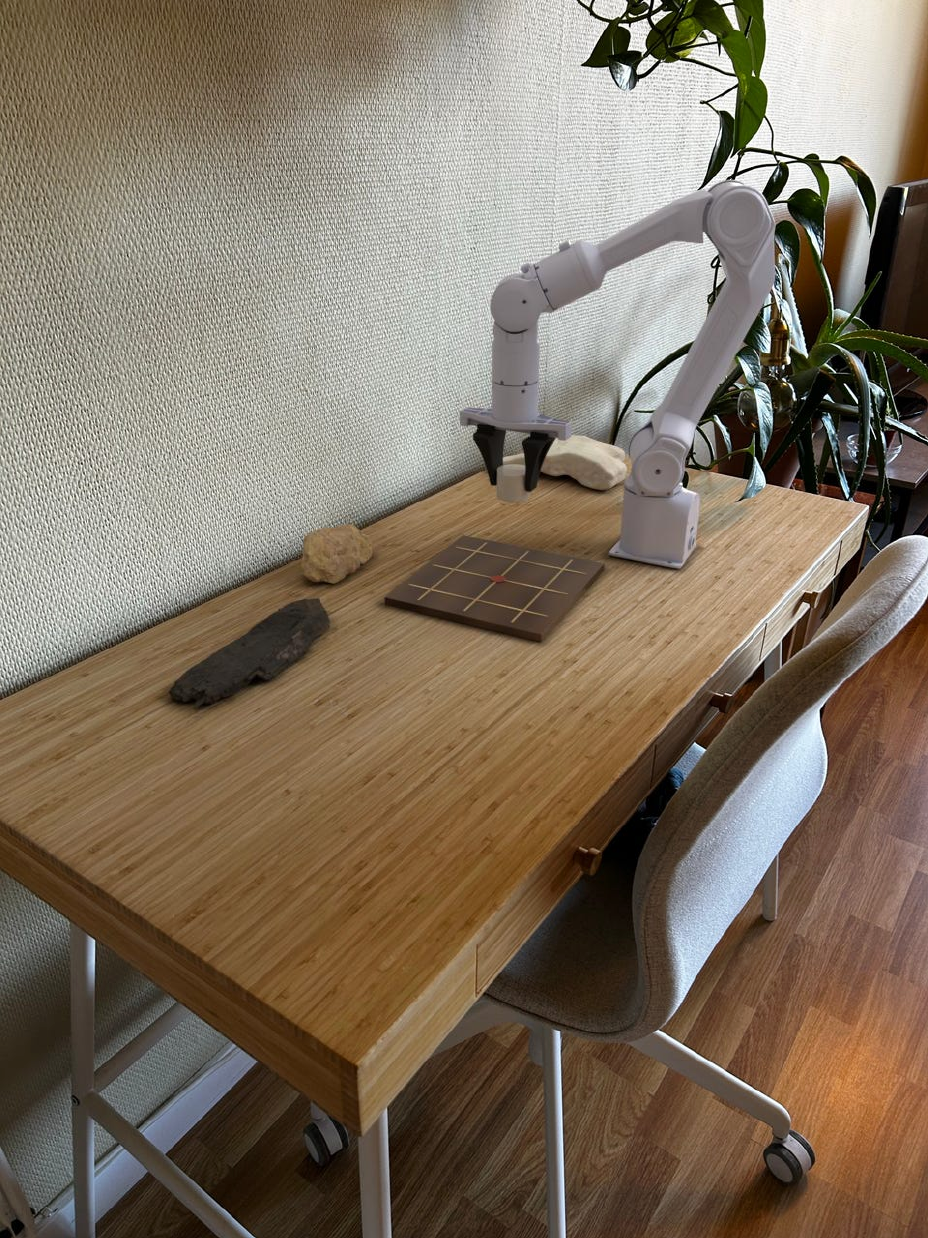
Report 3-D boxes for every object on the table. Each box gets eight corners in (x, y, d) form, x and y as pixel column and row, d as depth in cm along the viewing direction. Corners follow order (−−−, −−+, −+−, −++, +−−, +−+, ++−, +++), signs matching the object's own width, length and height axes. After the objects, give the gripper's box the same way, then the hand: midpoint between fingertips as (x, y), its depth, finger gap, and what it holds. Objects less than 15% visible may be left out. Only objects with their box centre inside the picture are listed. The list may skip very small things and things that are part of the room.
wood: (219, 722, 87) (214, 695, 85) (163, 700, 90) (158, 674, 89) (357, 623, 104) (355, 600, 102) (306, 608, 107) (303, 585, 105)
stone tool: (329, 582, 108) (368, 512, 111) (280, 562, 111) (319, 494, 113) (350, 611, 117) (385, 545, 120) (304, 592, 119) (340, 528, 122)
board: (604, 570, 115) (604, 562, 114) (541, 642, 99) (541, 633, 99) (463, 541, 123) (463, 534, 122) (384, 604, 107) (384, 596, 107)
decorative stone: (650, 438, 146) (615, 461, 135) (647, 469, 148) (612, 494, 137) (531, 420, 156) (488, 440, 144) (530, 450, 158) (487, 471, 147)
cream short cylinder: (535, 493, 119) (536, 467, 117) (521, 504, 115) (522, 477, 114) (505, 488, 121) (505, 462, 119) (490, 499, 117) (490, 472, 116)
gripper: (583, 379, 111) (578, 484, 117) (477, 366, 117) (478, 468, 123) (560, 393, 105) (556, 503, 112) (450, 379, 111) (452, 484, 118)
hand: (513, 486), depth 117 cm, fingers closed on cream short cylinder, 4 cm apart
